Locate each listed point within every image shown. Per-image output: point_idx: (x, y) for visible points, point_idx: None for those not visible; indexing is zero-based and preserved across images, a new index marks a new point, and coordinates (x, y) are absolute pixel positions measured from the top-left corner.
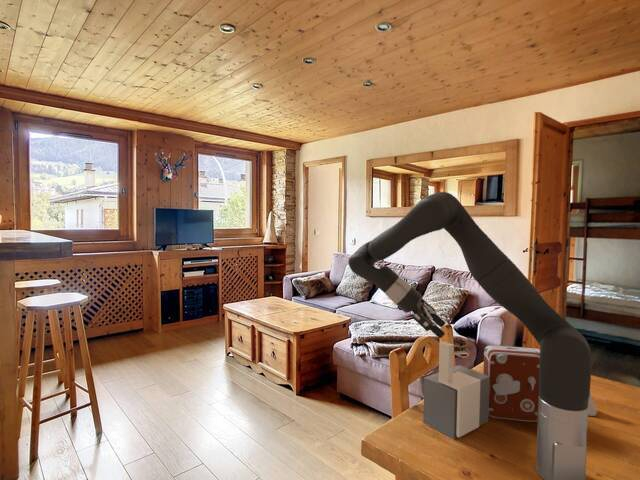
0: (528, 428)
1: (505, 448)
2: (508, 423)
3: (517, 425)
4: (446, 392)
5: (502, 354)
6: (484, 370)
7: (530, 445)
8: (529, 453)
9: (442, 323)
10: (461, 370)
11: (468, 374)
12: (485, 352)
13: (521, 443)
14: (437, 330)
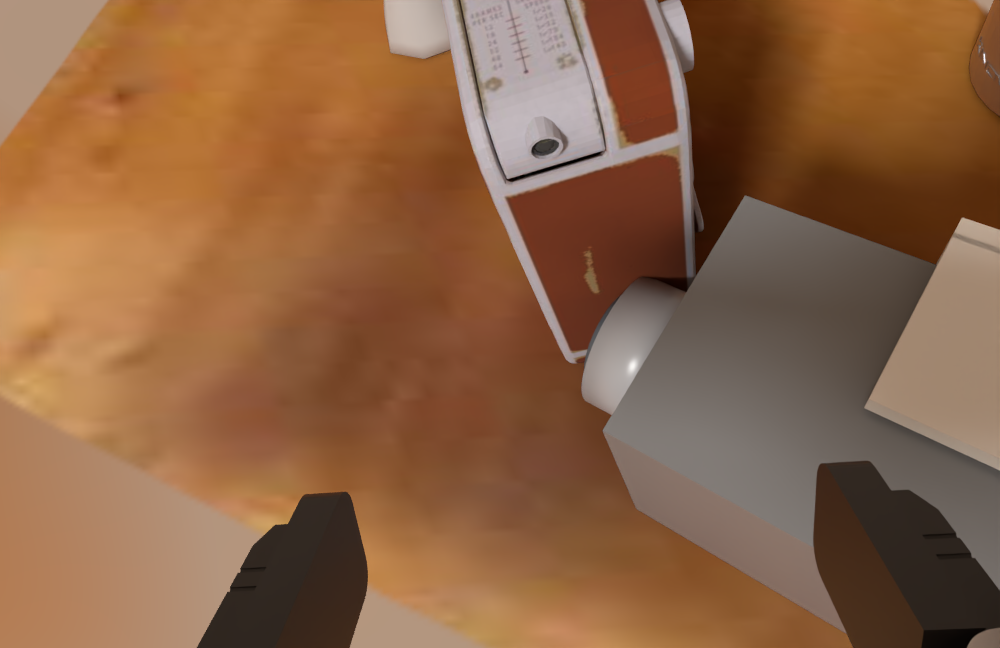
0: (707, 178)
1: None
2: (704, 253)
3: (703, 218)
4: None
5: (659, 7)
6: (570, 255)
7: (873, 165)
8: (955, 166)
9: (345, 543)
10: (724, 397)
11: (793, 335)
12: (543, 164)
13: (879, 197)
14: (984, 582)
